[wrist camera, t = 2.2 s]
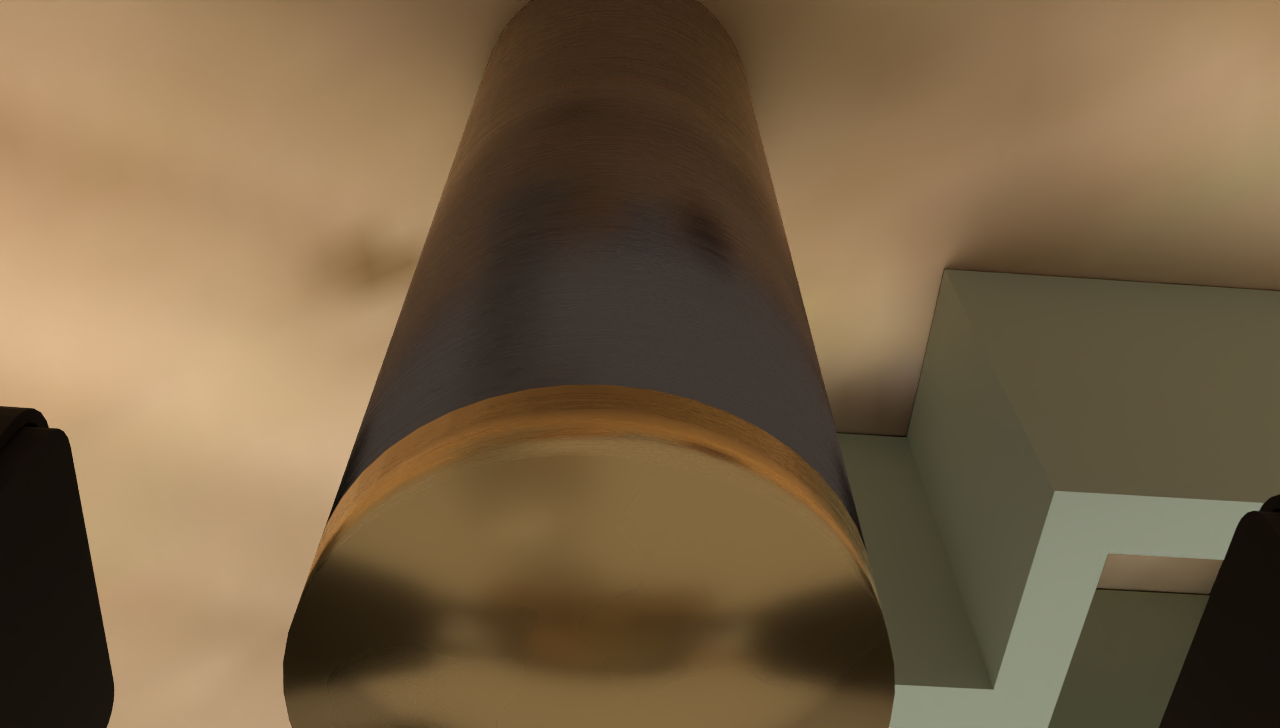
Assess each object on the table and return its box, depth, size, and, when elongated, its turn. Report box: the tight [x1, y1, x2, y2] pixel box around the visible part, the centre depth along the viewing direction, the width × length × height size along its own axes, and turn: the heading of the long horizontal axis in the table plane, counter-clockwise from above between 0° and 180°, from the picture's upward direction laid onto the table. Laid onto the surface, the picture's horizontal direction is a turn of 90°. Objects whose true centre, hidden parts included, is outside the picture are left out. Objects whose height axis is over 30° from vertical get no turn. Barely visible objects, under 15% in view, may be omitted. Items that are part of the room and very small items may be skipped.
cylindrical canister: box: [283, 0, 895, 728], centre depth 13 cm, size 4×4×12 cm
